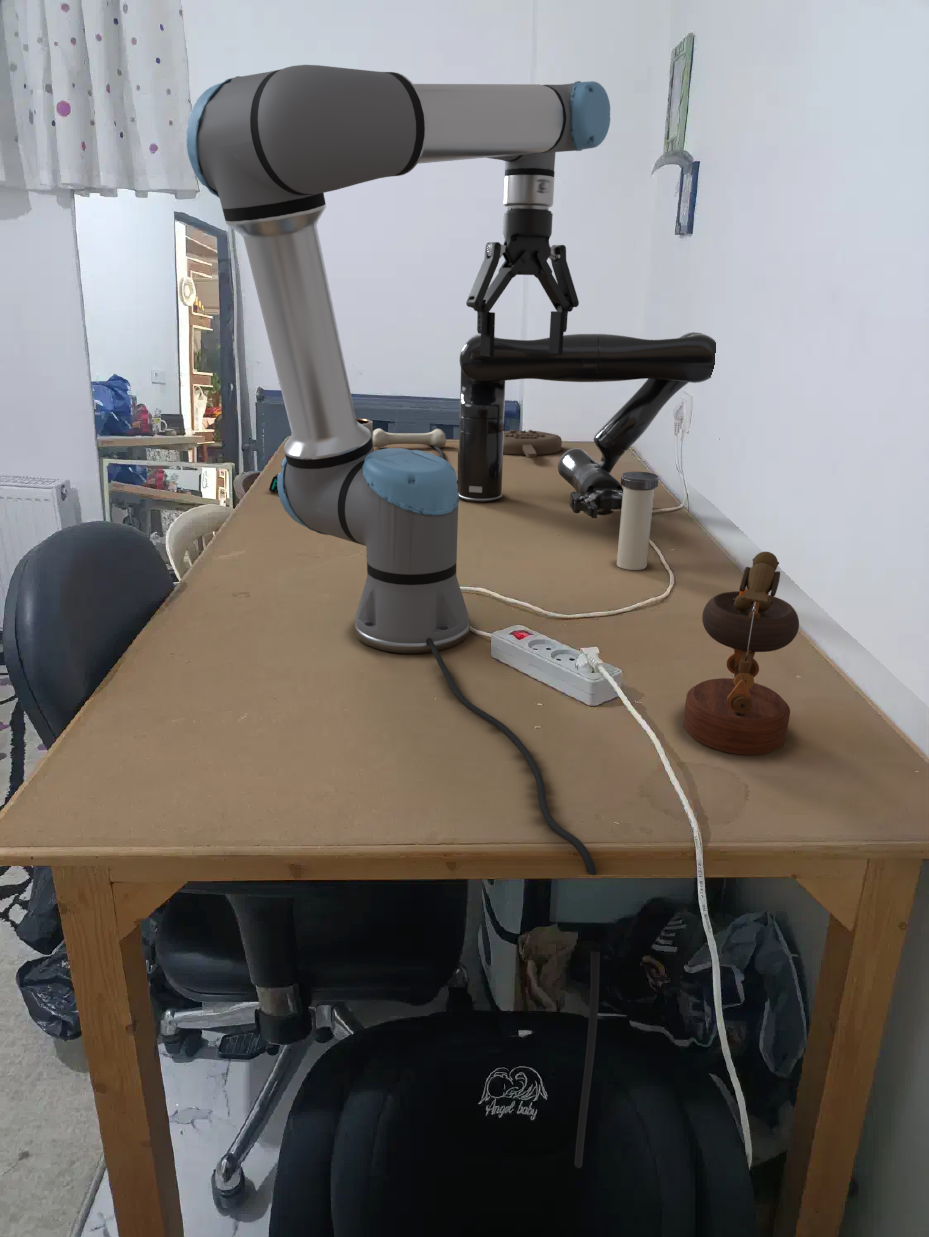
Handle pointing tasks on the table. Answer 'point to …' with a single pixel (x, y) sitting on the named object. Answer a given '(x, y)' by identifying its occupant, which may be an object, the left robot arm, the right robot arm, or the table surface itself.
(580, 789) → the table surface
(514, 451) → the ice cream bar
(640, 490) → the bottle
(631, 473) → the lid
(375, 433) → the dog toy
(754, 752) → the wooden sculpture
